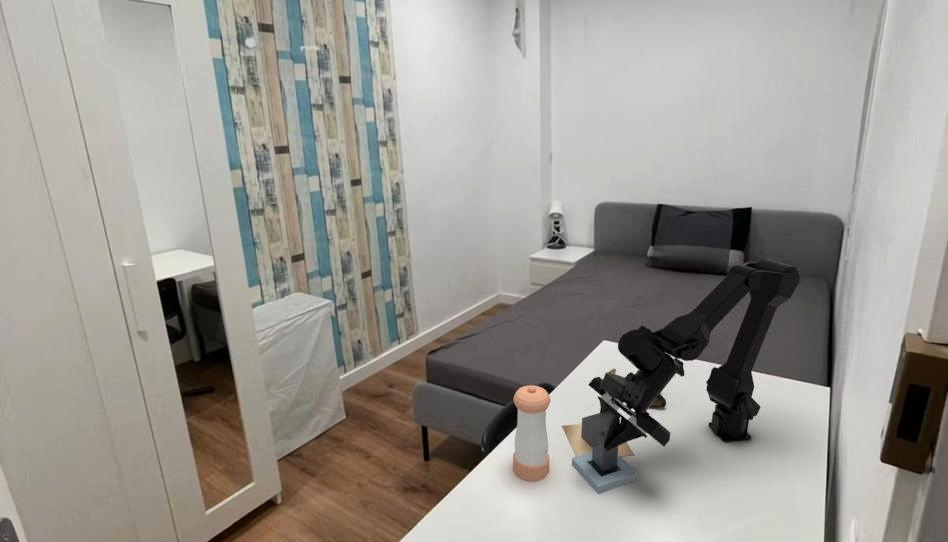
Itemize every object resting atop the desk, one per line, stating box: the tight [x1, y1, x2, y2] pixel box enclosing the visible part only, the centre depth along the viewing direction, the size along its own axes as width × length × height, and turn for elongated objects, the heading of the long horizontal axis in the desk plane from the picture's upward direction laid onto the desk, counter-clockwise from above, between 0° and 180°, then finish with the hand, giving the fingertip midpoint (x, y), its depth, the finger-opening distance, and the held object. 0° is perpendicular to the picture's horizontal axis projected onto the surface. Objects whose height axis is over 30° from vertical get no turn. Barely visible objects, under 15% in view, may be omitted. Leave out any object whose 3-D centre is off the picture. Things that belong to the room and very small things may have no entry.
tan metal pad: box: [561, 423, 635, 458], centre depth 111 cm, size 12×12×1 cm
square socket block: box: [571, 452, 638, 495], centre depth 101 cm, size 9×9×2 cm
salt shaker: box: [512, 385, 551, 482], centre depth 100 cm, size 7×7×19 cm
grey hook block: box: [581, 410, 621, 477], centre depth 98 cm, size 6×3×13 cm, turn 112°
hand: (599, 443), depth 98 cm, fingers closed on grey hook block, 3 cm apart
